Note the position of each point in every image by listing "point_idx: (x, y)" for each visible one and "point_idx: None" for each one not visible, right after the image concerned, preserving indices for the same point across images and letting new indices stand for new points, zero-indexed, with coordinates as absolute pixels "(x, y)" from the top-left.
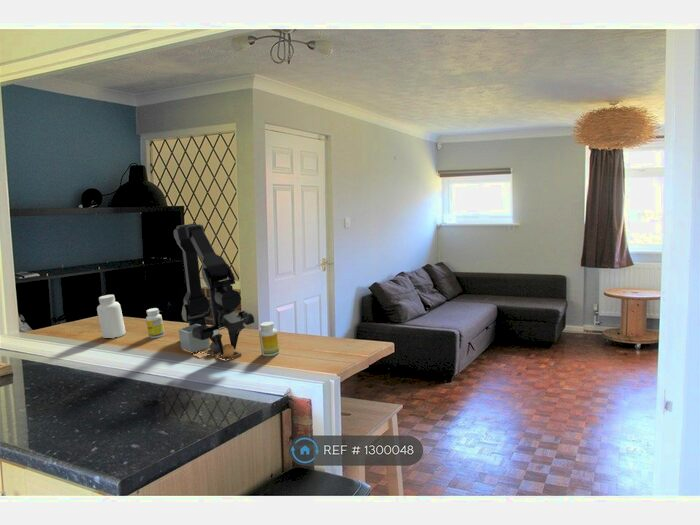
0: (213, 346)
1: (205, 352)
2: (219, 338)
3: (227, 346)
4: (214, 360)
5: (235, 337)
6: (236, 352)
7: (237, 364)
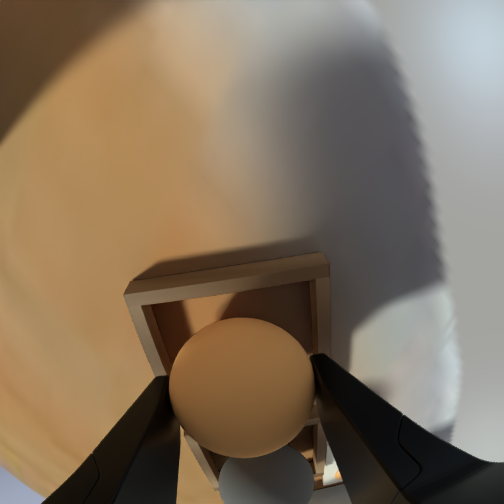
0: (306, 483)
1: (323, 467)
2: (469, 492)
3: (261, 409)
4: (360, 349)
5: (110, 484)
6: (157, 347)
7: (272, 67)
